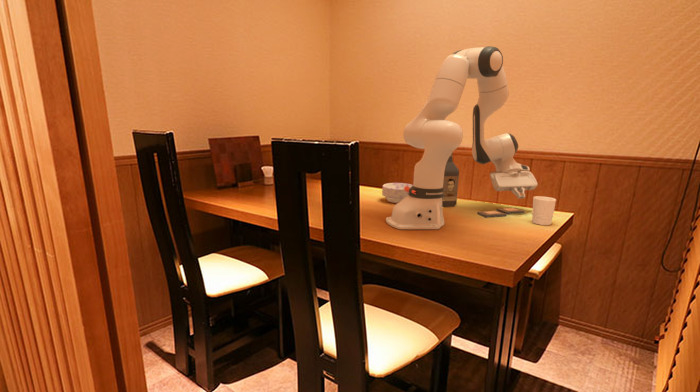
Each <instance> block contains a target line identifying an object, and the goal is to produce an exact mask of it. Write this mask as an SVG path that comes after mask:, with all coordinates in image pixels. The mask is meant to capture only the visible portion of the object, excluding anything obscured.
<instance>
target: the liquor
mask: <svg viewBox="0 0 700 392" xmlns="http://www.w3.org/2000/svg"><path fill="white" fill-rule="evenodd" d="M453 152H454V151H453ZM453 152H452V153H451V155H450V156H449V158H448V160H447V163H446V166H445V171H444V180H443V187H444V196H443V201H442V208H454V207H456V205H457V202H458V190H459V180H460V179H459V178H460V170H459V168H458V167H457V165H456V164H455V163H454V160H453Z"/></svg>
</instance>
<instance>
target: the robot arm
mask: <svg viewBox="0 0 700 392" xmlns="http://www.w3.org/2000/svg"><path fill="white" fill-rule="evenodd" d="M503 64H504V56H503V53H502V52H501V50H500V49H499V48H498V47H496V46H484V47H483V46H481V47H480V46H479V47H469V48H465V49H463V50H462V49H459V50H456V51H455V52H453V53H452V54H450V55H449V54H448V56H446V57H445V58H444V60H443V61H442V63H441V65H440V67H439V68H438V71H437V74H436V76H435V79H434V81H433V85H432V87H431V90H430V92H429V96H428V98H427V99H426V101H425V102H424V103H425V104H424V105H423V106H422V108H421V109H420V110H419V112H418V113H417V115H416V116H415V117H414V118H413V119H412V120H411V121H409V122H407V123H406V124H405V126H404V129H403V133H402V135H403V139H404V142H405V143H406V144H407V145H409V146H411V147H414V148H416V149H422V150H424V152H423V155H422V157H421V159H420V160H419V161H417V162H416V163H415V165H414V167H413V168H414V170H413V184H412V185H413V186H412V187H411V188H410V187H408V186H405V187H404V190H405V191H406V192H409V195H408V196H407V197H406V198H404V199H403V200H402V201H400V202H399V203H395V204H394V206H393V208H392V212H391V216H387V217H386V218H385V222H386V224H388V225H389V226H390V227H393V228H395V229H398V230H440V229H441V227H443V226H444V225H445V219H444V212H443V207H442V201H443V196H444V187H443V180H444V171H445V166H446V163H447V160H448V158H449V156H450V155H451V153H452V152H454V151H456V149H457V148H459V147H460V145H461V143H462V142H463V139H464V136H463V135H464V134H463V130H462V127H461V125H460V124H458V123H457V122H454V121H451V120H446V118H447V117H448V116H450V115H451V114H453V113H454V112H456V110H457V109H458V106H459V104H460V101H461V98H462V95H463V92H464V89H465V86H466V83H467V80H468V79H470V80H473V79H474V80H475V79H476V80H477V82H476V83H477V89H478V90H477V91H478V99H477V102H476V104H475V105H474V106H473V109H472V146H471V153H472V154H471V155H472V157H473V160H474V162H476V163H478V164H480V165H486V164H489V163H491V162H492V164H493V165H494V166H495V171H494V170H493V171H491V172H490V173H489V178H490V180H491V184H492V186H493V187H492V188H493V189H494V191H496V192H510V191H511V193H512V194H514V196H516V198H517V199H519V200H520V199H525V198H526V194H525V191H533V190H535V189H536V188H537V187H538V184H539V183H538V182H537V179H536V177H535V175H534V174H533V173H532V172H531V171H530V167H529V166H528V165H524V164H521V163H518V162H517V160H515V159H514V156H515V155H516V153H517V152H518V149H519V142H518V141H517V138H516V137H515V136H514V135H513V134H511V133H510V132H506V133H503V134H498V135H496V136H493V137H489V138H486V139H485V123H486V121H487V120H488V119H489V117H491V115H493V114H495V113H496V112H497V111H498V110H500V109H501V108H502V107H503V106H504V105H505V103H506V102H507V100H508V99H509V85H508V84H509V83H508V79H507V74H506V70H505V68H504V65H503Z"/></svg>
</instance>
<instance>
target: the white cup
mask: <svg viewBox="0 0 700 392" xmlns="http://www.w3.org/2000/svg"><path fill="white" fill-rule="evenodd" d="M532 199H533V201H532V214H531V215H532V217H531V218H532V219H531V222H532V224H535V225H538V226H539V225H540V226H551V224H552V221H553V217H554V212H555V208H556V207H555V206H556V202H557V199H556V198H554V197H549V196H543V195H542V196H541V195H539V196H538V195H537V196H533V197H532Z"/></svg>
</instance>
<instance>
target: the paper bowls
mask: <svg viewBox="0 0 700 392" xmlns="http://www.w3.org/2000/svg"><path fill="white" fill-rule="evenodd" d="M405 186H408V187H410V188H411V187H412V186H413V184H410V183H405V182H388V183H384V184H383V185H382V196H383V197H385V199H386V201H387V202H388V203H392V204H397V203H399V202H400V201H402V200H403V199H404V198H406V197H407V196H408V195H409V192H406V191H405V190H404V187H405Z"/></svg>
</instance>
